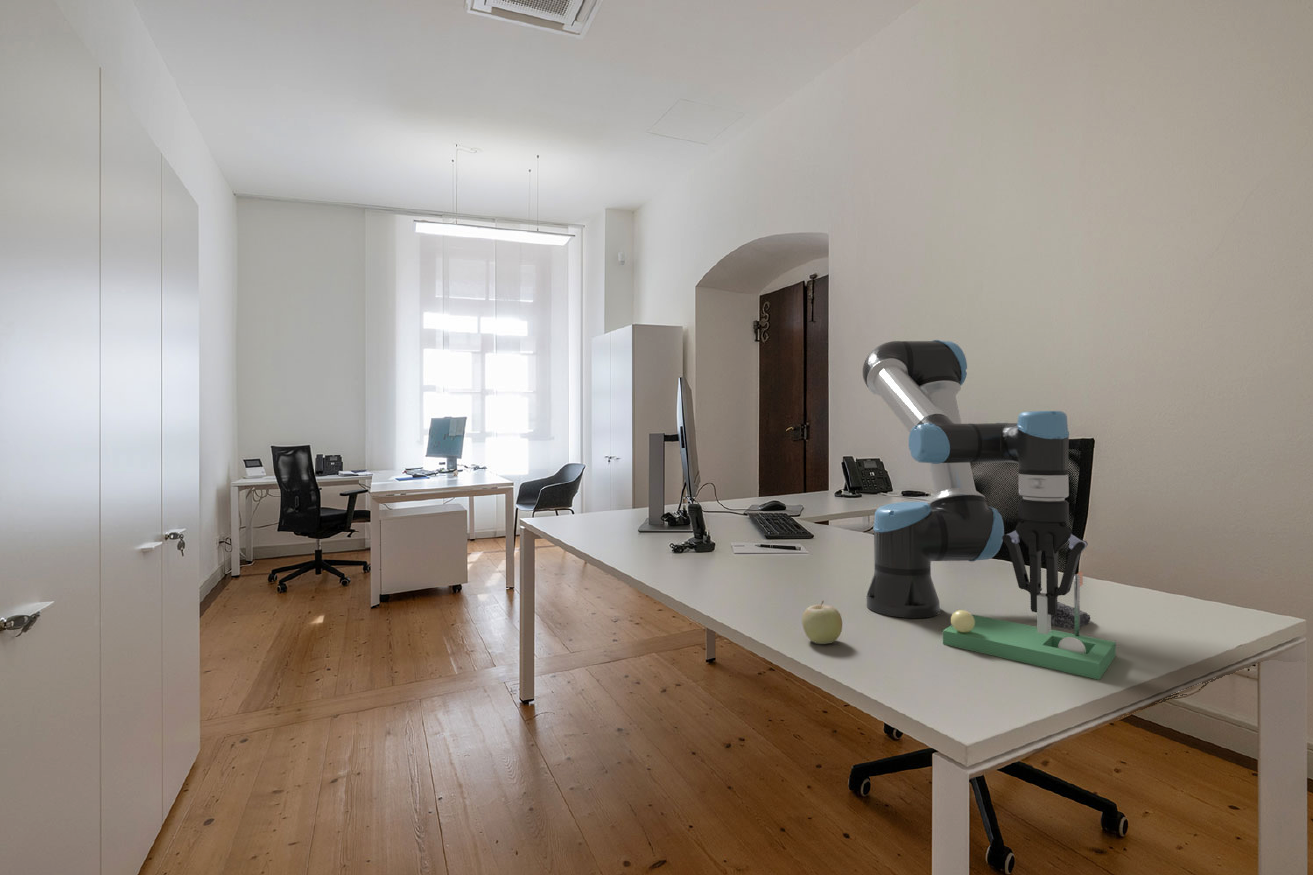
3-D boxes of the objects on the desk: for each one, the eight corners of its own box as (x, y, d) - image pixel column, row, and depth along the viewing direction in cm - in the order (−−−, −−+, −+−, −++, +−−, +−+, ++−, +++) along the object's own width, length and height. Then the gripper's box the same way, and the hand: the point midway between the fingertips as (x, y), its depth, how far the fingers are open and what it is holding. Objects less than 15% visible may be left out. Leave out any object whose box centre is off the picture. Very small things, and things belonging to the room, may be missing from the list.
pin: (1073, 635, 112) (1073, 574, 112) (1079, 630, 115) (1079, 570, 115) (1079, 636, 111) (1079, 575, 111) (1084, 631, 114) (1084, 571, 114)
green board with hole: (942, 643, 116) (942, 630, 116) (969, 626, 125) (969, 613, 125) (1099, 679, 99) (1099, 663, 99) (1115, 656, 108) (1115, 641, 108)
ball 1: (947, 632, 114) (947, 610, 114) (955, 627, 117) (955, 606, 117) (970, 637, 112) (970, 615, 112) (978, 631, 114) (978, 610, 114)
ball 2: (1053, 657, 107) (1059, 635, 106) (1057, 651, 110) (1063, 630, 109) (1080, 668, 104) (1087, 646, 103) (1083, 662, 107) (1090, 640, 106)
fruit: (849, 647, 115) (849, 603, 114) (812, 650, 113) (811, 606, 113) (831, 633, 122) (831, 593, 122) (795, 636, 121) (795, 595, 121)
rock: (1098, 623, 127) (1098, 602, 127) (1073, 631, 122) (1073, 610, 122) (1058, 613, 134) (1058, 594, 134) (1033, 621, 129) (1033, 601, 128)
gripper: (995, 497, 112) (996, 628, 112) (1082, 502, 102) (1083, 645, 103) (1008, 494, 117) (1009, 619, 117) (1092, 499, 108) (1093, 634, 108)
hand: (1044, 631), depth 110 cm, fingers closed
